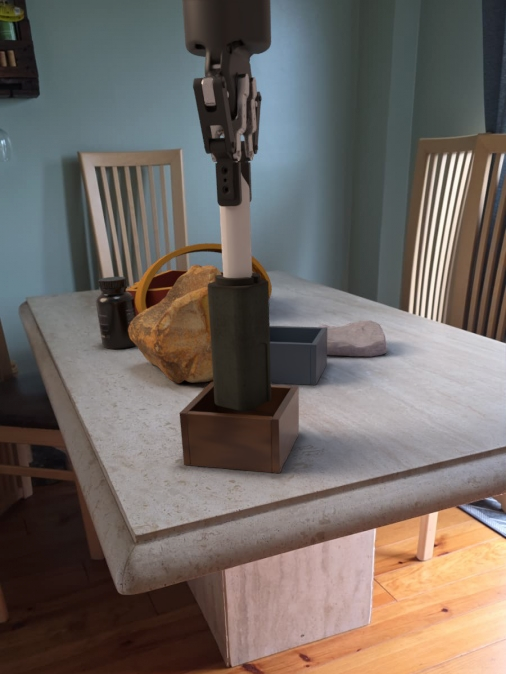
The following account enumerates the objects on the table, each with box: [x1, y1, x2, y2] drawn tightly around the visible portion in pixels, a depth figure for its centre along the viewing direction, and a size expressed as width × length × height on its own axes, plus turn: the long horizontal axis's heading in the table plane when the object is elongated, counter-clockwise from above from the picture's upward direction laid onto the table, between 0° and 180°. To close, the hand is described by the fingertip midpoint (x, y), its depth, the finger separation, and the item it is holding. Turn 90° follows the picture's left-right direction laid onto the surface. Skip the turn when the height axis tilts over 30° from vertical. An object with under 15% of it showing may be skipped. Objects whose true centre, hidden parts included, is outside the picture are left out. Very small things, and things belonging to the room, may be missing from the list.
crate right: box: [270, 325, 328, 386], centre depth 95 cm, size 11×11×6 cm
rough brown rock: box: [128, 264, 221, 384], centre depth 97 cm, size 23×17×15 cm
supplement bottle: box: [95, 276, 136, 350], centre depth 112 cm, size 7×7×12 cm
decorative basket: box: [126, 242, 273, 316], centre depth 136 cm, size 34×29×15 cm
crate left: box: [179, 381, 300, 474], centre depth 69 cm, size 11×11×6 cm
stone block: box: [317, 320, 388, 357], centre depth 106 cm, size 12×5×10 cm
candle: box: [207, 161, 272, 411], centre depth 63 cm, size 5×5×25 cm
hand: (235, 204), depth 60 cm, fingers closed on candle, 3 cm apart
